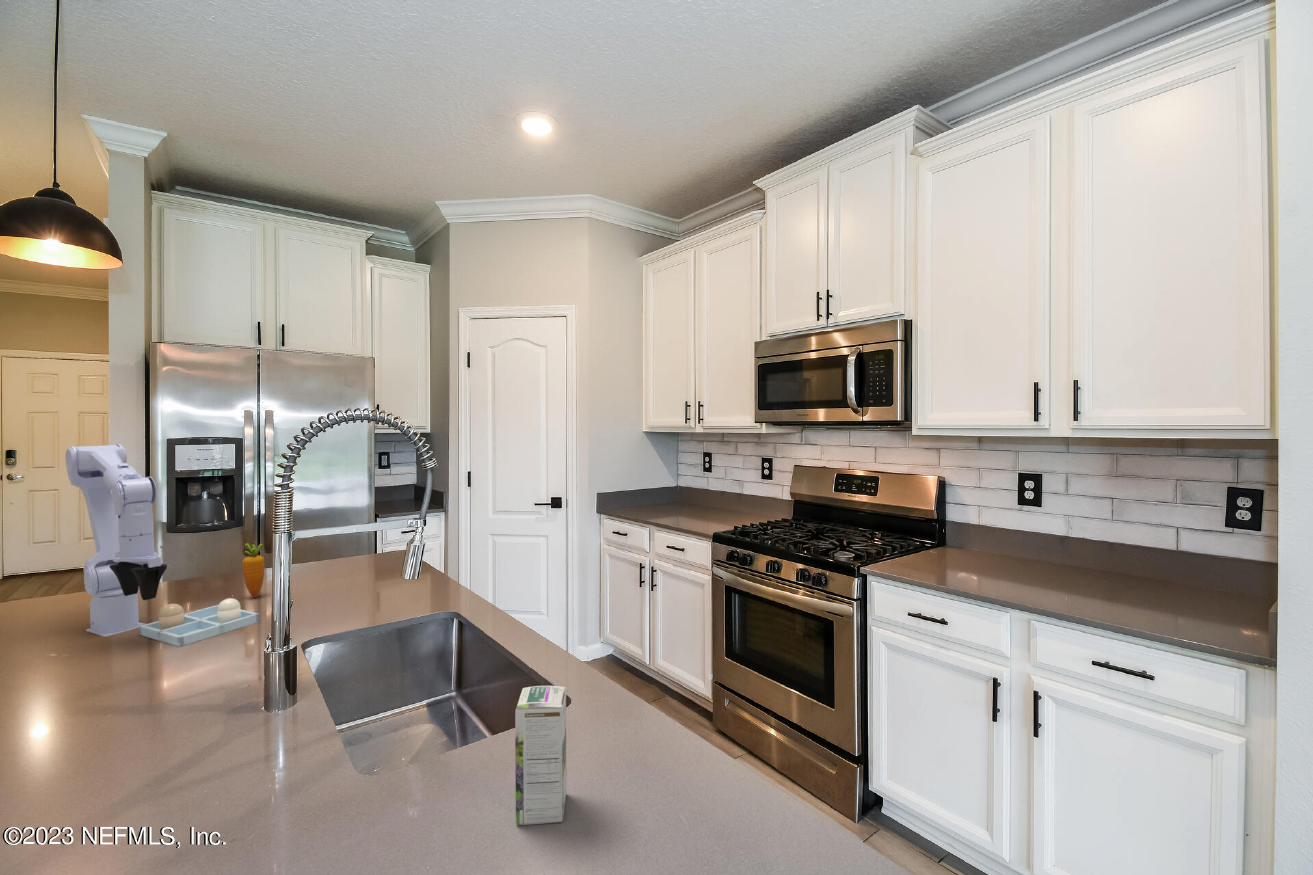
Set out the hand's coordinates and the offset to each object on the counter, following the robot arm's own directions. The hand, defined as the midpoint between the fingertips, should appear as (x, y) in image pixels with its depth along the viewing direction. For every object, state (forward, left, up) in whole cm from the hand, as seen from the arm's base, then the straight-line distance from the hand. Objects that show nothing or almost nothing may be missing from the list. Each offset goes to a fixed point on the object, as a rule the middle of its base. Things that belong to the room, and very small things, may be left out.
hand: (139, 596), depth 130 cm
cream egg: (+7, +14, -10) cm, 18 cm away
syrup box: (+112, -7, -11) cm, 113 cm away
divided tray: (+3, +10, -10) cm, 15 cm away
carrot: (-11, +30, -11) cm, 34 cm away
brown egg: (-1, +6, -10) cm, 12 cm away
